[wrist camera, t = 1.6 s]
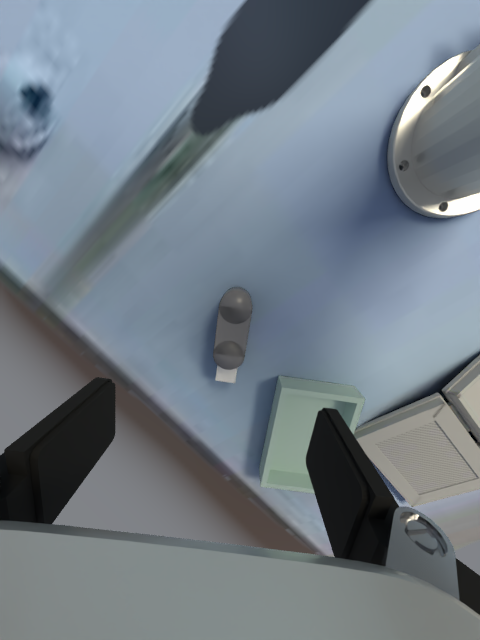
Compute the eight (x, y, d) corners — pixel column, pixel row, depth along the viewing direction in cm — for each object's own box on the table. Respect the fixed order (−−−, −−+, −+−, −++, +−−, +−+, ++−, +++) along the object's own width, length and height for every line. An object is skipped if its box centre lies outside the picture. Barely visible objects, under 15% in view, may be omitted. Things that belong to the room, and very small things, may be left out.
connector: (224, 285, 24) (221, 289, 21) (253, 289, 24) (254, 294, 21) (213, 369, 27) (209, 385, 24) (239, 372, 27) (239, 389, 24)
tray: (278, 375, 27) (282, 387, 25) (354, 386, 27) (365, 398, 25) (259, 468, 31) (260, 486, 28) (325, 477, 31) (332, 496, 28)
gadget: (513, 323, 26) (556, 332, 22) (564, 409, 28) (610, 430, 25) (345, 429, 30) (359, 452, 26) (404, 496, 32) (423, 524, 29)
